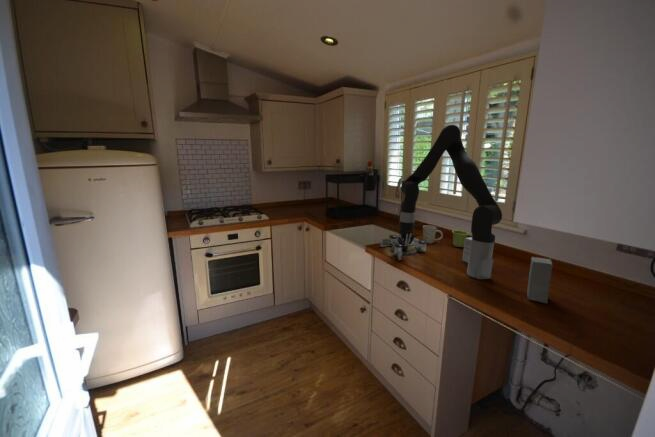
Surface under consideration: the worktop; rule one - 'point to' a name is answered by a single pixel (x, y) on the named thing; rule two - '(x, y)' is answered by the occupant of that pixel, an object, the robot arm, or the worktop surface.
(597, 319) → the worktop surface
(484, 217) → the robot arm
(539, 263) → the skincare box
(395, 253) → the footscrew left
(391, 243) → the footscrew far
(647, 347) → the worktop surface
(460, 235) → the plant pot
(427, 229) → the mug
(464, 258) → the supplement box
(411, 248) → the level instrument
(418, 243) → the footscrew right
